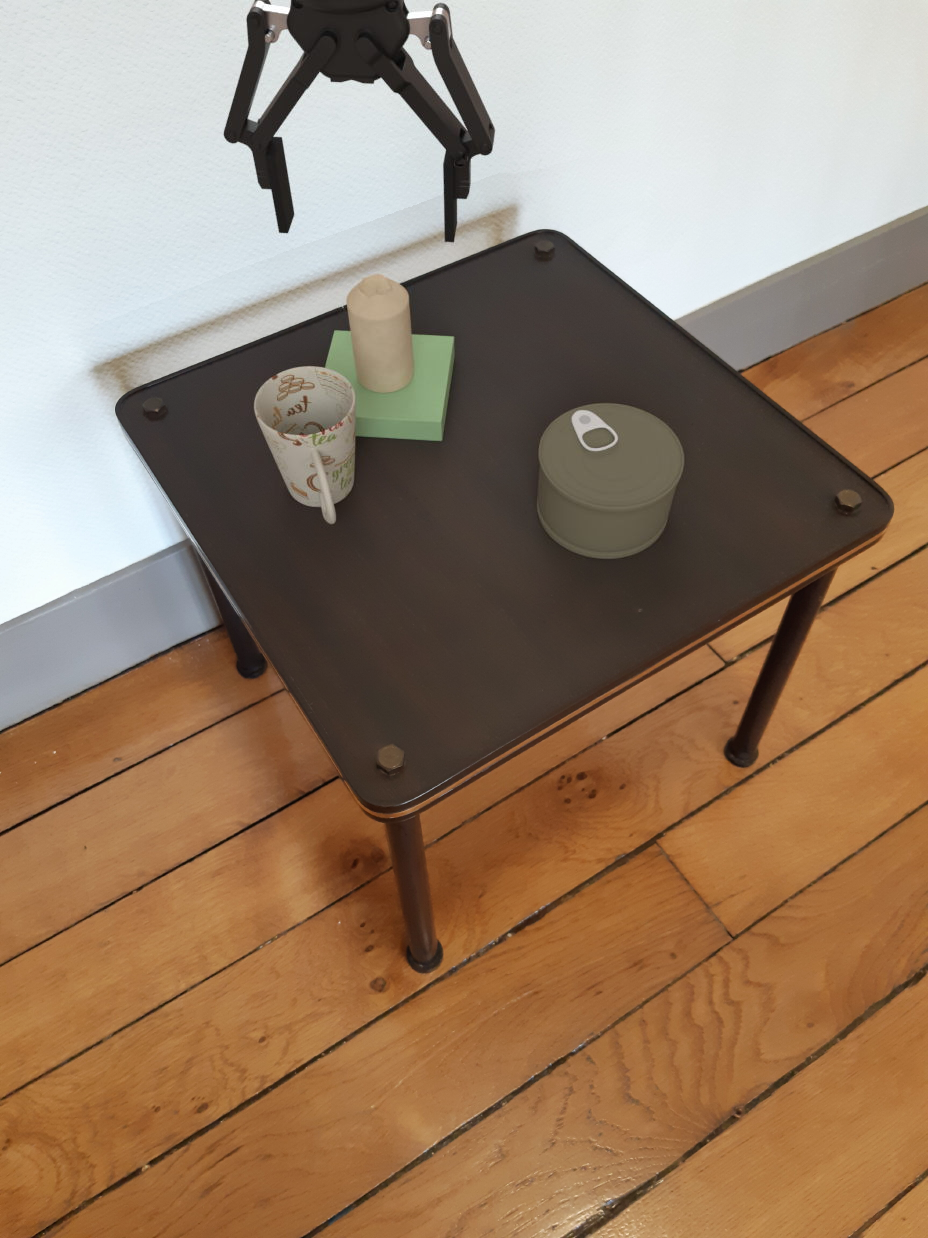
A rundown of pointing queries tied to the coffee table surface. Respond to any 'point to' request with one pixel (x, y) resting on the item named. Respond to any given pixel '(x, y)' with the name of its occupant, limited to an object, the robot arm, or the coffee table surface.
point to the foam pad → (401, 390)
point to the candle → (381, 334)
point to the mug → (311, 433)
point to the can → (607, 479)
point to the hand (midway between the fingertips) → (368, 228)
